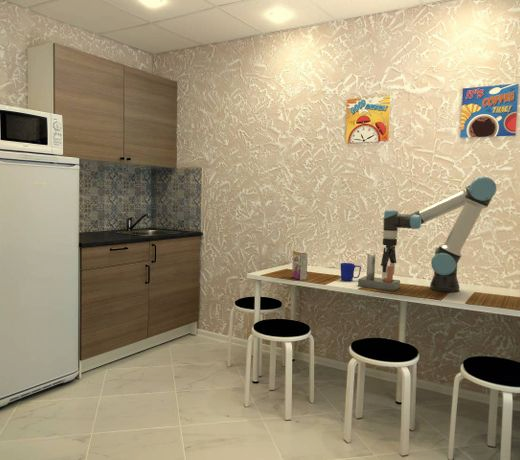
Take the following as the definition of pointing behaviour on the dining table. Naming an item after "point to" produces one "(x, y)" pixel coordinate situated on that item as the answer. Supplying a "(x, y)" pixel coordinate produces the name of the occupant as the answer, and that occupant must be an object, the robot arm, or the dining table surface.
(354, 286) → the dining table surface
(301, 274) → the candy bar box
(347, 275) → the mug
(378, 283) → the gray socket post base
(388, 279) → the orange rectangular block
